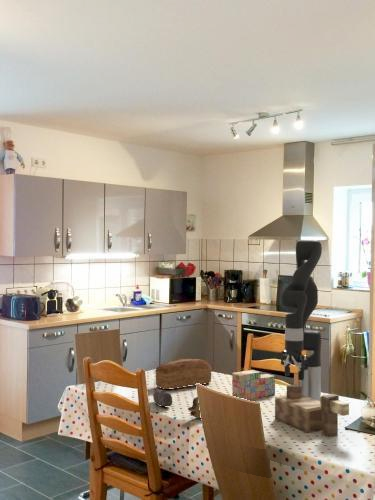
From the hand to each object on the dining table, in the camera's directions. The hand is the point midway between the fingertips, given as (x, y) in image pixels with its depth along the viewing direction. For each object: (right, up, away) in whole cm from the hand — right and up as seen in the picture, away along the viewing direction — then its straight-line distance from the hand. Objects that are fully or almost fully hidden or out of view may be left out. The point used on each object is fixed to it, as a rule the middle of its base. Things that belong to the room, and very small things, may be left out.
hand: (294, 377), depth 230 cm
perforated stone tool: (-56, -18, +23) cm, 63 cm away
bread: (-46, -18, +59) cm, 77 cm away
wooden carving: (-38, -18, +4) cm, 42 cm away
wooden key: (+11, -8, -20) cm, 25 cm away
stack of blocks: (-12, -18, +38) cm, 43 cm away
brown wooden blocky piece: (+4, -18, -8) cm, 20 cm away
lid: (+2, -10, -4) cm, 11 cm away
